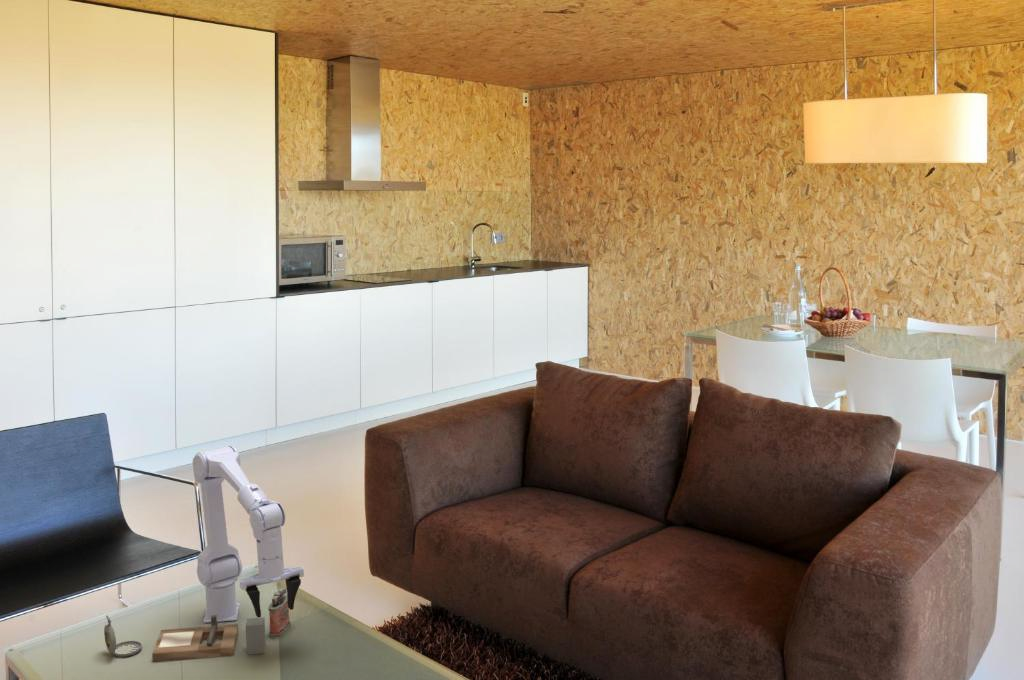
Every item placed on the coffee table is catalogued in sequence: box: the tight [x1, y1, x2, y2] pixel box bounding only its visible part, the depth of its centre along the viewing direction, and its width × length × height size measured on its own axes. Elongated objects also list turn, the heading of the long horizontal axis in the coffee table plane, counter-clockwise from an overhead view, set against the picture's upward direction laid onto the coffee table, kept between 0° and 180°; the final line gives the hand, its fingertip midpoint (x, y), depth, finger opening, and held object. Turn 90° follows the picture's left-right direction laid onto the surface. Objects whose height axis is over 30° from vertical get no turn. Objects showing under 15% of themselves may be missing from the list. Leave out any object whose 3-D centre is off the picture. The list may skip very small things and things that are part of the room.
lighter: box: [267, 587, 291, 639], centre depth 236 cm, size 8×3×10 cm, turn 168°
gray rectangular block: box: [245, 617, 267, 655], centre depth 226 cm, size 4×4×7 cm
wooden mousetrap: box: [151, 615, 239, 662], centre depth 228 cm, size 12×18×5 cm, turn 101°
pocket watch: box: [103, 614, 143, 657], centre depth 224 cm, size 8×8×10 cm
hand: (274, 612), depth 224 cm, fingers open, 7 cm apart
